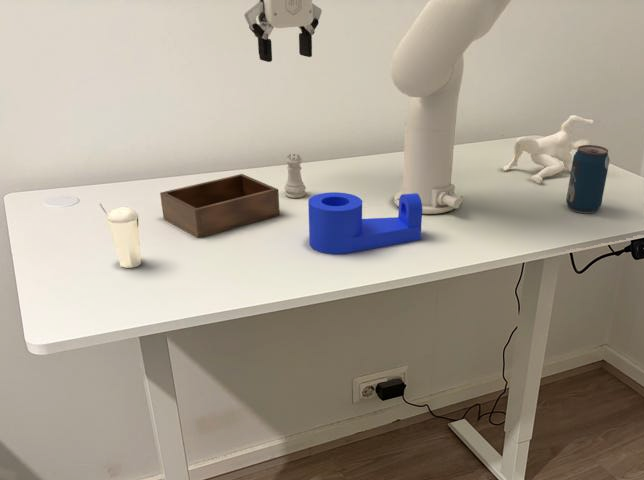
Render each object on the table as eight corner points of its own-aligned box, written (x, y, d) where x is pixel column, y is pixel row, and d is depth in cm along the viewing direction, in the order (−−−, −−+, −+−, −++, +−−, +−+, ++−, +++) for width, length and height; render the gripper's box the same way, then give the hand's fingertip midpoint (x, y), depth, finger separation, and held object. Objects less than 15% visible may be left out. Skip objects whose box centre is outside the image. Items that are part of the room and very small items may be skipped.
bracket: (317, 256, 122) (316, 213, 118) (303, 236, 130) (302, 194, 126) (425, 244, 129) (428, 202, 125) (406, 225, 136) (408, 185, 132)
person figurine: (533, 134, 154) (594, 110, 161) (494, 133, 164) (553, 110, 171) (542, 194, 159) (600, 168, 167) (504, 189, 169) (560, 165, 177)
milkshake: (114, 258, 119) (103, 198, 113) (148, 258, 119) (139, 198, 114) (107, 269, 115) (95, 208, 110) (142, 269, 115) (132, 209, 110)
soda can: (606, 209, 148) (618, 149, 142) (588, 217, 144) (599, 156, 137) (576, 200, 152) (586, 142, 146) (558, 207, 148) (568, 148, 141)
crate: (243, 198, 145) (242, 173, 142) (279, 214, 138) (278, 189, 135) (163, 219, 134) (159, 192, 131) (198, 237, 127) (195, 210, 124)
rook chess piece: (308, 192, 149) (307, 153, 145) (303, 199, 146) (302, 159, 141) (286, 190, 150) (285, 151, 145) (281, 197, 146) (279, 157, 142)
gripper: (255, -40, 126) (261, 66, 135) (331, -41, 137) (332, 57, 146) (230, -43, 130) (237, 59, 139) (306, -44, 141) (308, 51, 150)
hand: (286, 58), depth 143 cm, fingers open, 9 cm apart
